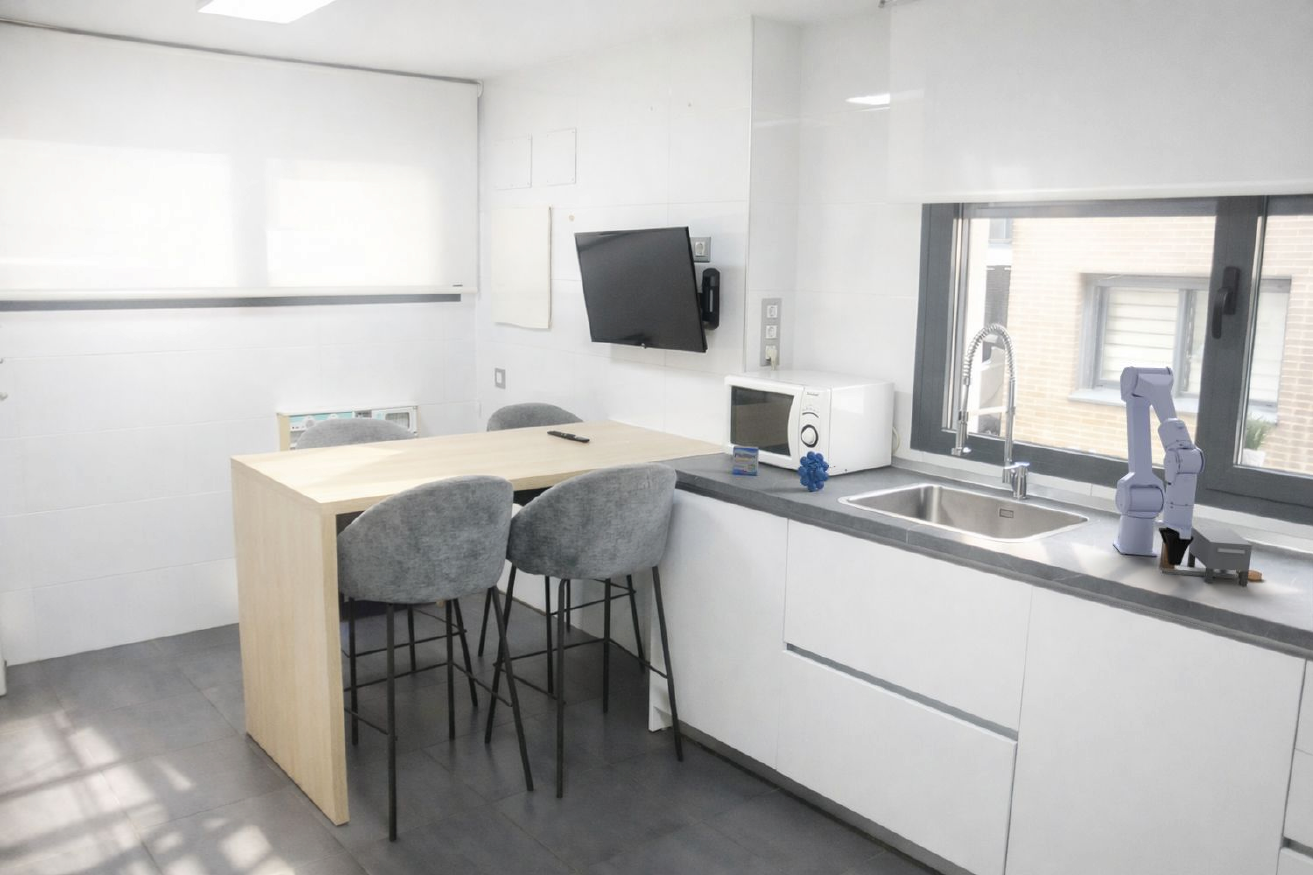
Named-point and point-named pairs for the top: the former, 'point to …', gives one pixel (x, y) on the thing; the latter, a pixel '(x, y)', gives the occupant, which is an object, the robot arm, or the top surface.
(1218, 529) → the low cabinet
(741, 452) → the medicine box
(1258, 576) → the copper token
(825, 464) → the grapes
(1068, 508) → the top surface
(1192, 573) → the scraper
